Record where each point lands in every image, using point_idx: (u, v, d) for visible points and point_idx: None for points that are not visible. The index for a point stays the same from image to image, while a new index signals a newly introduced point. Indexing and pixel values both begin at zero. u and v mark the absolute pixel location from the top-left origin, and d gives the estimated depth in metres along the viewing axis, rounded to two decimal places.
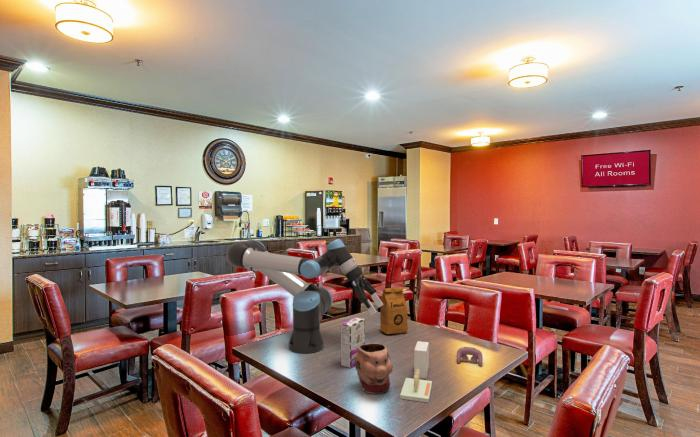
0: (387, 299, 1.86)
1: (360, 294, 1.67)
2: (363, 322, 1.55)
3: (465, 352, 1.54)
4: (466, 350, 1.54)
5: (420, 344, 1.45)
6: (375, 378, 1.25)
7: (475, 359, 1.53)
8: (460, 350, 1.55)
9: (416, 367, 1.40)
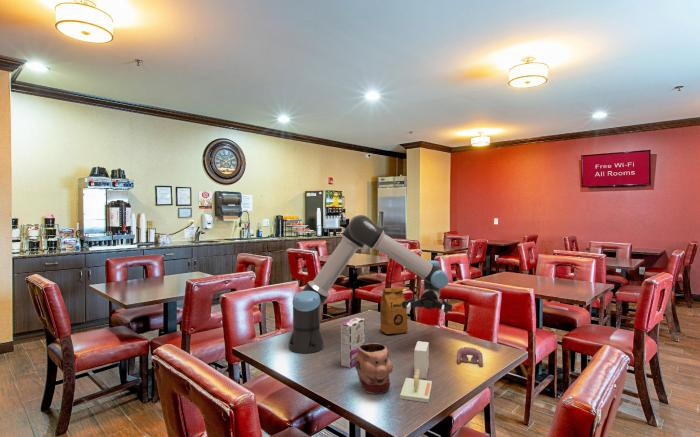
0: (387, 299, 1.86)
1: None
2: (363, 322, 1.55)
3: (465, 352, 1.54)
4: (466, 350, 1.53)
5: (420, 344, 1.45)
6: (375, 378, 1.25)
7: (475, 359, 1.53)
8: (460, 350, 1.54)
9: (416, 367, 1.40)
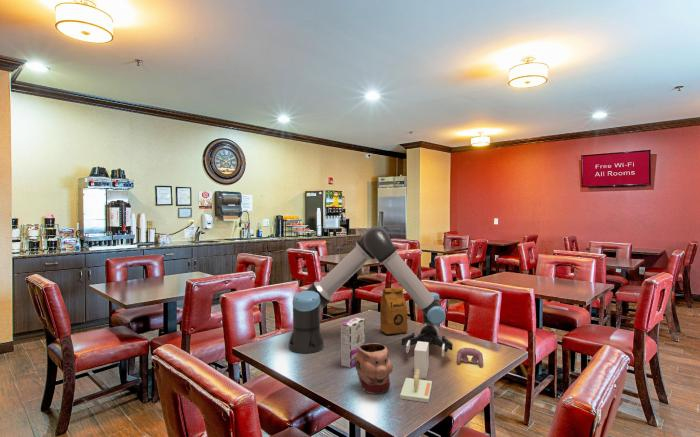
0: (387, 299, 1.86)
1: None
2: (363, 322, 1.55)
3: (465, 353, 1.53)
4: (466, 351, 1.53)
5: (420, 344, 1.45)
6: (375, 378, 1.25)
7: (475, 360, 1.52)
8: (460, 351, 1.54)
9: (416, 367, 1.40)
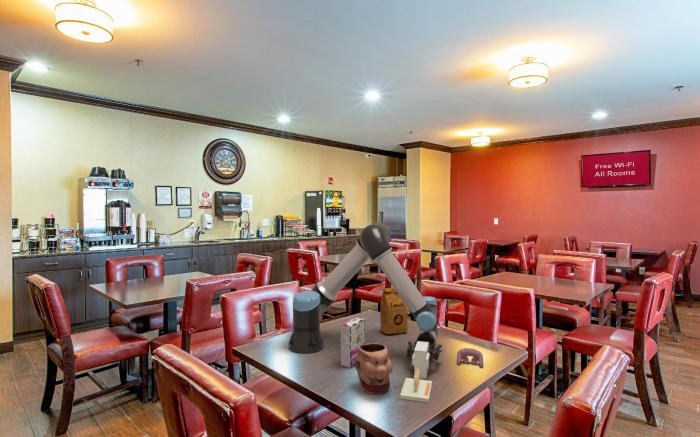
0: (387, 299, 1.86)
1: (438, 354, 1.47)
2: (363, 322, 1.55)
3: (465, 353, 1.52)
4: (467, 351, 1.52)
5: (420, 344, 1.45)
6: (375, 378, 1.25)
7: (476, 360, 1.52)
8: (460, 351, 1.53)
9: (416, 367, 1.40)
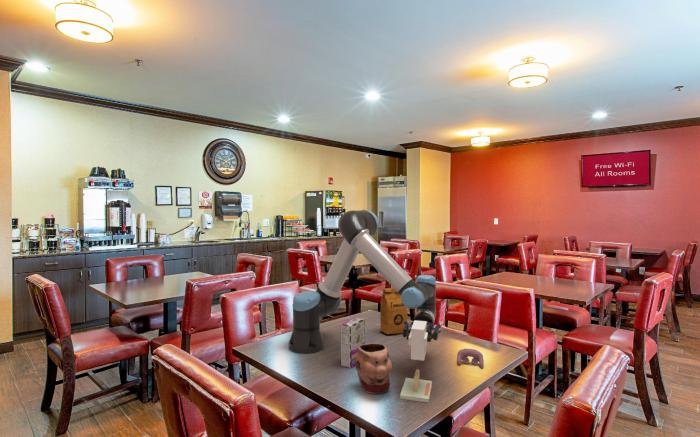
0: (387, 299, 1.86)
1: (437, 334, 1.33)
2: (363, 322, 1.55)
3: (466, 354, 1.52)
4: (467, 352, 1.52)
5: (417, 323, 1.32)
6: (375, 378, 1.25)
7: (476, 361, 1.51)
8: (461, 352, 1.53)
9: (413, 347, 1.26)
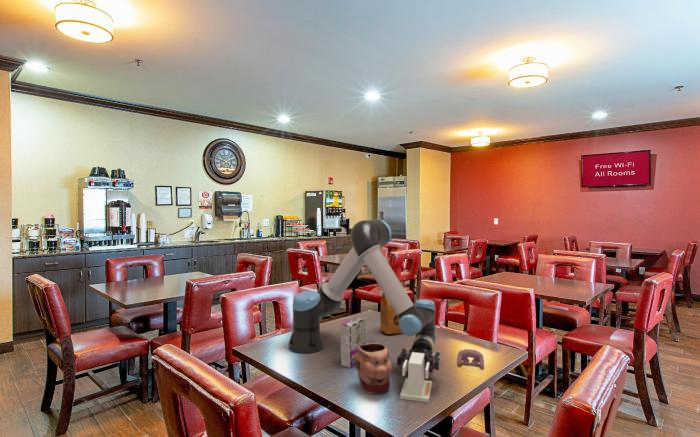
0: (387, 299, 1.86)
1: None
2: (363, 322, 1.55)
3: (466, 355, 1.51)
4: (467, 353, 1.51)
5: (415, 356, 1.31)
6: (375, 378, 1.25)
7: (476, 362, 1.50)
8: (461, 353, 1.52)
9: (410, 382, 1.25)
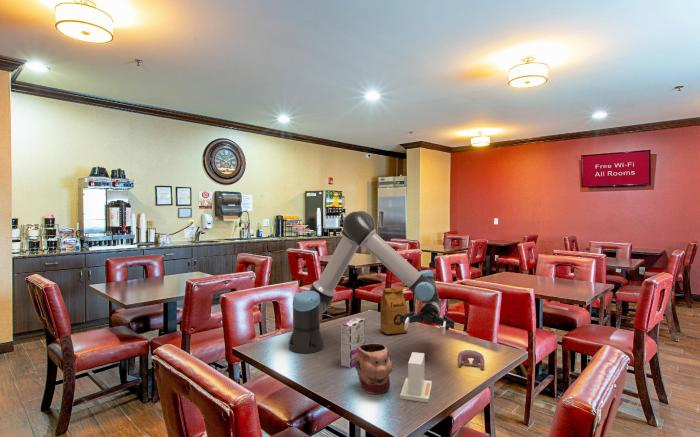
0: (387, 299, 1.86)
1: None
2: (363, 322, 1.55)
3: (466, 355, 1.50)
4: (467, 353, 1.50)
5: (415, 356, 1.31)
6: (375, 378, 1.25)
7: (477, 363, 1.50)
8: (461, 353, 1.51)
9: (410, 382, 1.25)
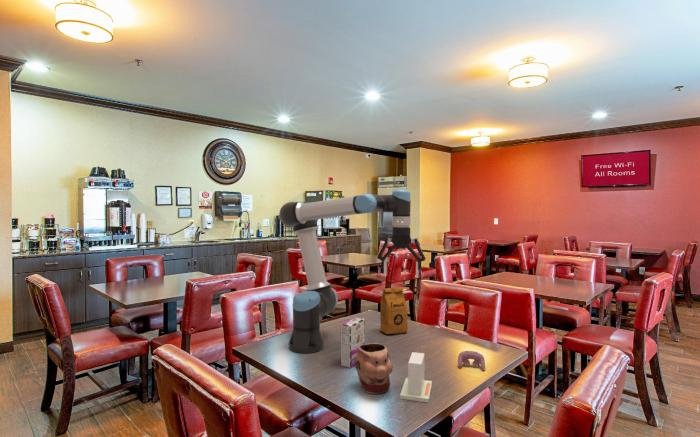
0: (387, 299, 1.86)
1: (380, 251, 1.67)
2: (363, 322, 1.55)
3: (467, 356, 1.50)
4: (468, 354, 1.49)
5: (415, 356, 1.31)
6: (375, 378, 1.25)
7: (477, 363, 1.49)
8: (462, 354, 1.50)
9: (410, 382, 1.25)
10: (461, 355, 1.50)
